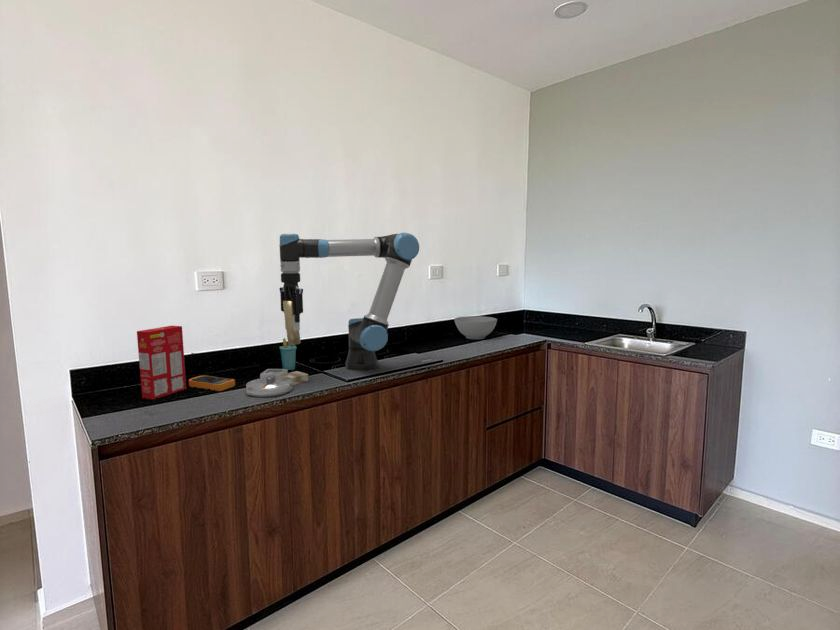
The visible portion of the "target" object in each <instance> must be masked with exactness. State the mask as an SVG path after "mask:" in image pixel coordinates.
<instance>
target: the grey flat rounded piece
mask: <svg viewBox="0 0 840 630" xmlns="http://www.w3.org/2000/svg"><path fill="white" fill-rule="evenodd" d="M288 373H289V371H288V369H283V368H267V369H266V370H264V371H262V372H261V373H260V375H259V378H257V379H256V378H255V379H253V380H250V381H248V382H247V383H246V384H245V388H246V394H247V395H248V396H251V397H256V398H257V397H258V398H271V397H276V396H282V395H284V394H288V393H290V392H292V391H293V389H294V385H293V382H292V380H291V379H290V378H286V377H288Z"/></svg>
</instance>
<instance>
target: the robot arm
mask: <svg viewBox="0 0 840 630" xmlns="http://www.w3.org/2000/svg"><path fill="white" fill-rule="evenodd" d="M278 246H279V259H280V260H279V261H280V265H279V266H280V272H281V274H280V282H281V283H283V286H282V287H279V293H280V294H279V295H280V311H281V312H283V313H284V307H283V301H284V300H291V301H292V304H293V312H294V313H293V331H296V330H299V331H300V329H301V327H300V326H301V324H300V322H301V318H300V315H301V314H303V313H304V303H303V302H304V300H303V293H304V289H303V288H300V286H299V283H300V282H301V273H300V271H301V262H300V260H301V258H302V259H303V258H305V259H311V258H313V259H315V258H316V259H319V258H320V259H321V258H323V259H324V258H333V257H335V258H336V257H369V256H370V257H371V256H372V257H374V258H376V259H377V258H379V259H380V258H383V259H384V260H385V262H386V264H385V266H384V269H383V272H382V275H381V278H380V280H379V284H378V285H377V286H378V287H377V290H376V292H375V295H374V297H373V300H372V303H371V307H370V308H369V312H368V314H365V315H364V316H363V317H358V318H350V319H349V320H348V323H347V324H348V325H347V327H348V328H347V329H348V354H347V357H346V359H345V360H346V361H345V368H346V369H349V370H354V371H355V370H357V371H359V370H360V371H361V370H362V371H363V370H372V369H375V368H377V367H379V364H378V363H379V360H378V359H377V355H376V352H377V351H380V350H381V349H383V348H384V347H385V346H386V344H387V342H388V339H389V337H388V336H389V333H388V329H389V325H390V324H389V321H388V317H389V315H390V313H391V309H392V306H393V304H394V302H395V298H396V296H397V294H398V290H399V287H400V284H401V281H402V278H403V276H404V273H405V270H406V269H408V268H410V267H411V264H412V261H413V259H415V258H417V256H418V254H419V251H420V243H419V241H418V239H417V237H416V236H415V235H413V234H412V233H408V232H400V233H392V234H389V235H383V236H374V237H373V238H360V239H356V238H355V239H352V238H351V239H321V238H318V239H317V238H310V239H308V238H306V239H305V238H304V239H303V238H300V236H299V234H298V233H282V234H280V235H279V245H278ZM284 326H285V327H284V328H285V330H286V323H285V322H284Z"/></svg>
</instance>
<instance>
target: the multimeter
mask: <svg viewBox="0 0 840 630" xmlns="http://www.w3.org/2000/svg"><path fill="white" fill-rule="evenodd" d="M188 386H189V387H190V388H194V387H196V388H195V389H202V388H203V389H202V390H208V389H210V390H209V391H214V390H215V392H222V391H225V390H228V389H232V388H233V387H235V386H236V380H235V379H234V378H226V377H218V376H213V375H211V376H210V375H198V376H195V377H192V378H189V379H188Z"/></svg>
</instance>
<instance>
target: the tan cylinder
mask: <svg viewBox="0 0 840 630" xmlns="http://www.w3.org/2000/svg"><path fill="white" fill-rule="evenodd" d="M283 307H284V312H283V314H284V324H285V323H286V329H285V330H286V337H287V338H286V340H287V345H295V346H296V345H300V344H301V333H300V330H296V331H293V313H294V312H293V304H292V301H291V300H284V301H283Z"/></svg>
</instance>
